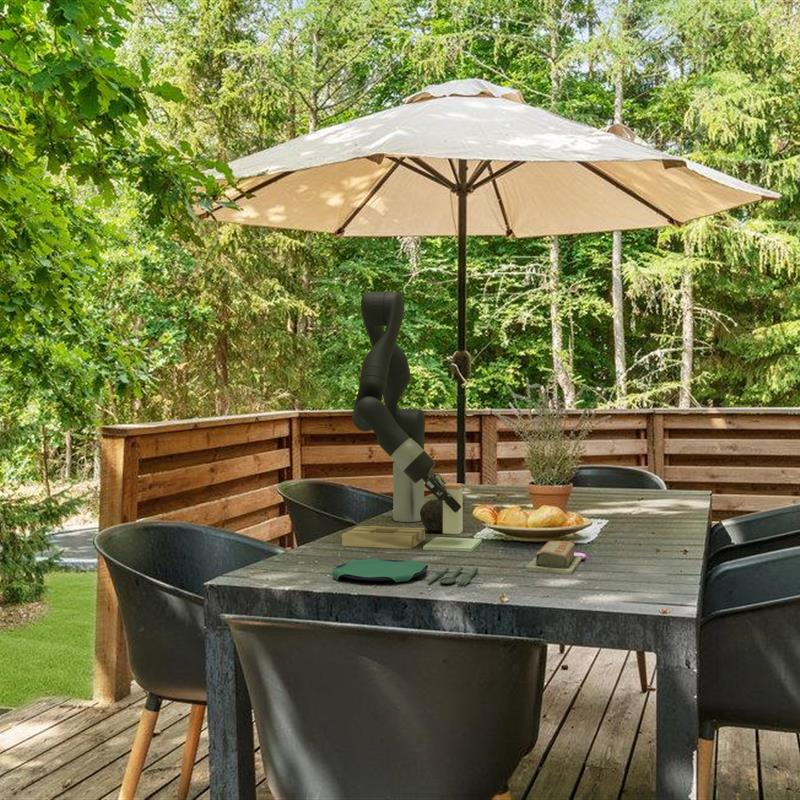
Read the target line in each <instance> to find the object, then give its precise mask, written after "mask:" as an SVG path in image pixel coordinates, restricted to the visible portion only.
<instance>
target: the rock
mask: <svg viewBox="0 0 800 800" xmlns="http://www.w3.org/2000/svg"><path fill="white" fill-rule="evenodd" d="M420 516H421V521H420V522H422V525H423V527H424V528H425V530H427V531H429V532H435V533H443V502H441V501H439V499H438V498H436V499H435V498H434V499H430V500H428V501H427V502H424V505H423V506H422V508H421V510H420Z"/></svg>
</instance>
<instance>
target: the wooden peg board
mask: <svg viewBox="0 0 800 800" xmlns="http://www.w3.org/2000/svg"><path fill="white" fill-rule="evenodd" d="M425 540H426V528H425V527H404V526H403V527H401V526H398V527H397V526H379V525H378V526H376V525H368V526H367V525H358V526H356V527H353V528H352V529H350V530H347V531H345V532H343V533H342V534H341V546H342V547H356V548H359V547H360V548H379V549H380V548H381V549H398V550H399V549H400V550H401V549H403V550H405V549H406V550H412V549H413V548H415V547H417V546H418V545H419V544H421V543H422V542H424V541H425Z"/></svg>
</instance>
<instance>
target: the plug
mask: <svg viewBox="0 0 800 800" xmlns="http://www.w3.org/2000/svg"><path fill="white" fill-rule="evenodd" d="M444 485H445V486H446V490H447V491H448V492H449V493H450V495H451V496H452V497H453V498H454V499H455V500H456V501H457V502H458V503H459V504H460V505H461V508H460V509H459V510H458V511H457V512H454V511H453V510H452V509H451V508H450V507H449V506H448V505H447V504H446V503H445V502H443V532H442V534H448V535H449V534H450V535H451V534H452V535H455V534H456V535H459V534H460V533H462V532H464V531H463V529H464V527H463V525H464V523H463V519H464V518H463V516H464V515H463V509H464V508H463V506H464V505H463V503H464V501H463V497H464V495H463V494H464V493H463V491H464V489H463V487H464V486H463V483H452V482H451V483H450V482H447V484H444ZM451 496H450V497H451Z"/></svg>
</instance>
